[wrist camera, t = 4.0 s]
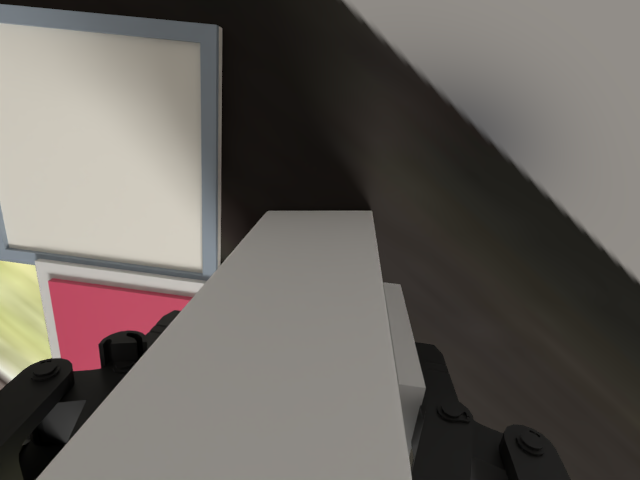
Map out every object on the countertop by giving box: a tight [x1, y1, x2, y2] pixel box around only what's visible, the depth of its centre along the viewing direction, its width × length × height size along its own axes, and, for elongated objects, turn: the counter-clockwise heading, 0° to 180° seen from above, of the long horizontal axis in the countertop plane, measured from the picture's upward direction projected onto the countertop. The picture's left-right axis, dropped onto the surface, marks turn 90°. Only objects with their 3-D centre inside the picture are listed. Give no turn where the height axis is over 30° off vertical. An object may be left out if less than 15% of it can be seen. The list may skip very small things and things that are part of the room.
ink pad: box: [35, 259, 207, 371], centre depth 24 cm, size 12×12×2 cm
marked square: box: [0, 4, 222, 281], centre depth 21 cm, size 14×14×1 cm
